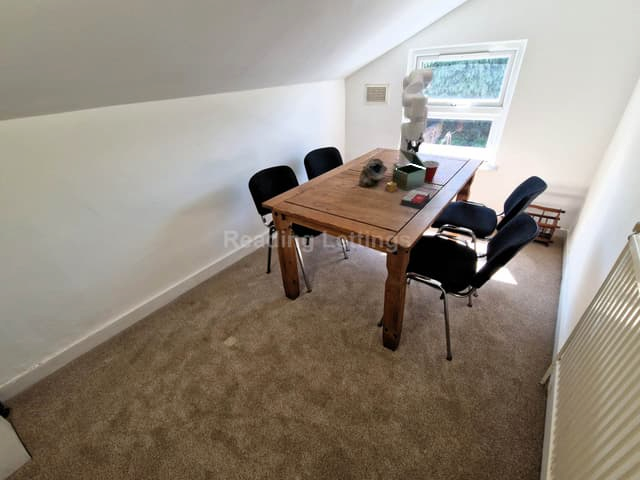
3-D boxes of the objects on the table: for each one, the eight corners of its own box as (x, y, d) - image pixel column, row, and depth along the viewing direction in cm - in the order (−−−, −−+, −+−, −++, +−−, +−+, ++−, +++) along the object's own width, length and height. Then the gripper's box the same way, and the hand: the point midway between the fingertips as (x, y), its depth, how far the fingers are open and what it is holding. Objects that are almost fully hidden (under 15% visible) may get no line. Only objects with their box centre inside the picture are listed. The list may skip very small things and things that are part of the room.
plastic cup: (418, 182, 186) (420, 164, 180) (420, 177, 194) (423, 159, 188) (435, 184, 182) (438, 166, 175) (437, 179, 190) (440, 161, 184)
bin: (406, 190, 176) (408, 174, 170) (391, 184, 185) (393, 168, 179) (423, 185, 182) (426, 168, 177) (409, 179, 192) (411, 163, 186)
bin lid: (414, 153, 165) (419, 146, 165) (399, 149, 175) (404, 142, 174) (425, 168, 176) (430, 161, 176) (410, 163, 186) (415, 156, 185)
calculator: (401, 198, 158) (411, 188, 167) (400, 205, 160) (411, 195, 170) (420, 203, 152) (430, 192, 162) (419, 210, 154) (429, 198, 164)
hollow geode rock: (379, 180, 205) (367, 163, 205) (393, 170, 196) (380, 153, 196) (361, 193, 186) (348, 174, 185) (375, 182, 176) (361, 163, 176)
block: (385, 190, 179) (386, 183, 176) (391, 188, 180) (391, 181, 178) (390, 192, 175) (391, 185, 173) (396, 190, 177) (396, 183, 175)
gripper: (401, 118, 168) (397, 149, 177) (423, 122, 155) (418, 155, 165) (410, 117, 171) (406, 147, 180) (432, 120, 158) (427, 153, 168)
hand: (412, 151), depth 172 cm, fingers closed on bin lid, 5 cm apart
